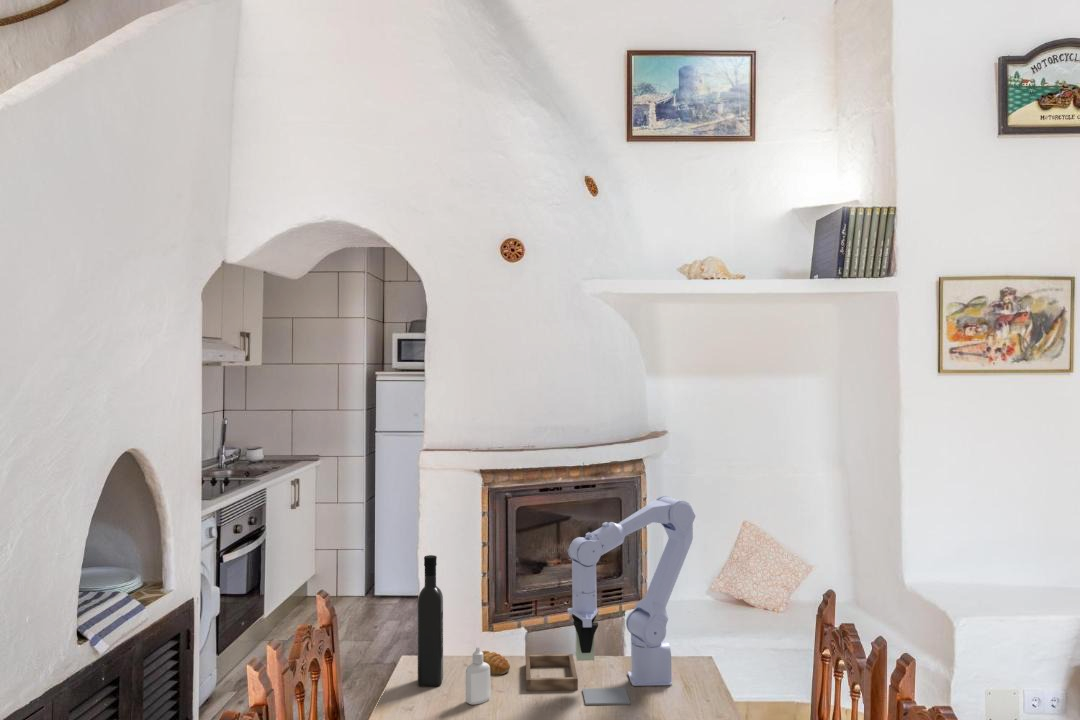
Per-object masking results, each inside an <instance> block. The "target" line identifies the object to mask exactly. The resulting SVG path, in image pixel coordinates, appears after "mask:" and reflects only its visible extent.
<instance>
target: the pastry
mask: <svg viewBox="0 0 1080 720" xmlns="http://www.w3.org/2000/svg"><path fill="white" fill-rule="evenodd" d="M481 652H483V662H485V663H487V664H489V666H490V675H495V676H497V675H504V674H506V673H508V672H510V668H511V665H510V663H509V661H508V660H507V659H506V658H505V657H503V656H502V655H501V654H500V653H497V652H494V651H492V652H491V651H490V650H483V651H482V650H481Z"/></svg>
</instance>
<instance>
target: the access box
mask: <svg viewBox="0 0 1080 720" xmlns="http://www.w3.org/2000/svg"><path fill="white" fill-rule="evenodd" d="M574 659H575V658H574V655H573V653H572V654H571V653H563V654H561V653H560V654H525V682H526V683H525V685H526V686H525V687H526V692H527V691H531V692H532V691H534V692H535V691H572V690H573V691H574V690H575V691H576V690H579V678H578V674H577V669H576V664H575V660H574ZM559 666H560V667H563V666H566V667H569V673H570V677H569V676H568V677H563V676H562V677H561V676H560V677H559V676H558V677H531V667H559Z"/></svg>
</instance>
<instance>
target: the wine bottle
mask: <svg viewBox="0 0 1080 720" xmlns="http://www.w3.org/2000/svg"><path fill="white" fill-rule="evenodd" d="M437 558H438V557H437V555H432V554H431V555H430V554H428V555H425V556H424V557H423V561H424V564H423V565H424V586H423V588H421V590H420V592H419V595H418V596H417V685H419V687H421V686H427V687H440V686H441V685H442V684H443V681H444V680H443V679H444V595H443V592H442V591H441V589H440V588H439V587H438V586H437V564H438V563H437Z"/></svg>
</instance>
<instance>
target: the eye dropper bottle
mask: <svg viewBox="0 0 1080 720" xmlns="http://www.w3.org/2000/svg"><path fill="white" fill-rule="evenodd" d="M480 647H481V646H476V647H475V651H474V652H472V663H471V664H469V665H468V666H467V667H466V668H465V702H466V703H467V704H469V705H471V706H472V705H474V706H475V705H480V704H484V703H486V702H488V701H489V700H490V699H491V674H490V666H489V664H487V663H485V662H483V652H482V650H481V649H480Z"/></svg>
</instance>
